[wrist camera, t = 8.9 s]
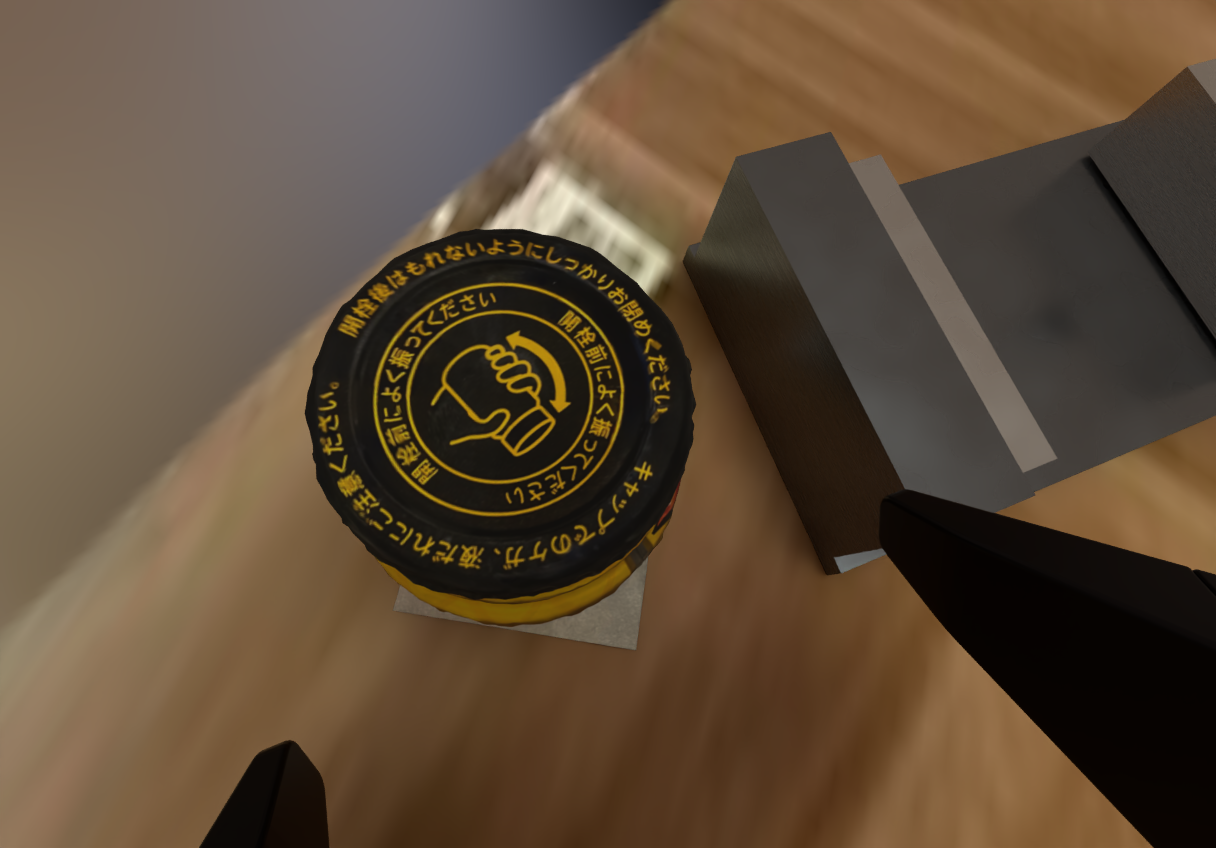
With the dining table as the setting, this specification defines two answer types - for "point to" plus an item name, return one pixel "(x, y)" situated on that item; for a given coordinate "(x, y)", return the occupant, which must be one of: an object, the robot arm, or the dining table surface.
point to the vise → (943, 328)
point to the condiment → (505, 432)
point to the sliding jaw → (1172, 179)
